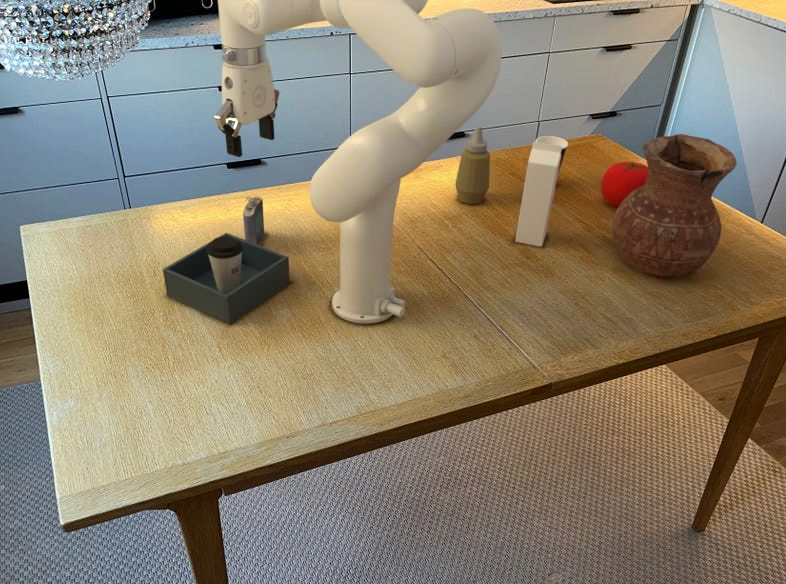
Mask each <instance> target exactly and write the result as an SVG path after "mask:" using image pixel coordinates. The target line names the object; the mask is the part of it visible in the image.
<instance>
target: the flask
mask: <svg viewBox="0 0 786 584" xmlns="http://www.w3.org/2000/svg"><path fill="white" fill-rule="evenodd" d="M247 201H248V202H247ZM245 202H247V203H246V205H245V207H244V208H243V212H242V216H243V217H242V218H243V219H242V220H243V230H244V240H246V241H249V242H252V243H254V244H257V245H259V246H261V242H263V239H264V237H265V236H266V234H265V220H264V201H263V197H261V196H254V197H252V196H251V197H250V196H247V197H246V198H245Z"/></svg>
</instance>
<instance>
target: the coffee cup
mask: <svg viewBox="0 0 786 584" xmlns="http://www.w3.org/2000/svg"><path fill="white" fill-rule="evenodd" d="M220 236H221V235H220ZM220 236H218V237H215V238H214V239H213V240H211V241H212V242H211V241H210V242H211V243H209V242H208V243H209V244H208V246H207V249H206V251H207V253H208V255H209V259H210V263H211V266H212V270H213V274H214V278H215V282H216V286H217V289H218V290H219V291H220V292H223V293H230V292H231V291H233V290H234V289H236V288H237V287H239V286H240V284H241V262H242V251H243V246H242V244H241V243H240V242H239V241H237V240H236V239H234V238H233V237H229V236H221V237H220Z"/></svg>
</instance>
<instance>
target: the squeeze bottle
mask: <svg viewBox="0 0 786 584" xmlns="http://www.w3.org/2000/svg"><path fill="white" fill-rule="evenodd" d="M483 137H484V136H483V128H482V126H480V125H477V126H476V127H475V130H474V133H473V136H472V138H470V139H469V140H467V142H466V147H465V149H463V150H462V151H461V157H460V160H459V164H458V170H457V174H456V179H455V182H454V183H455V184H454V185H455V189H456V193H457V197H458V200H459V201H460V202H462V203H464V204H469V205H477V204H480V203H482V202H483V200H484V199H485V196H486V194H487V192H488V191H489V188H490V169H491V167H490V166H491V153H490V152H489V151H488V149H487V148H488V142H487V141H486V140H484V138H483Z"/></svg>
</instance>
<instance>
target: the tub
mask: <svg viewBox="0 0 786 584" xmlns="http://www.w3.org/2000/svg"><path fill="white" fill-rule="evenodd" d="M221 236H229V237H233V238H234V239H236V240H237V241H239V242H240V243H241V244H242V246H243V251H242V262H241V284H240V286H239V287H237V288H236V289H234V290H233V291H231V292H230V293H223V292H220V291H219V290H218V289H217V286H216V282H215V278H214V274H213V270H212V266H211V263H210V259H209V255H208V253H207V251H206V249H207V246H208V244H209V243H211V242H212V240H211V241H209V242H207V243H206V244H204V245H202V246H201V247H199V248H197V249H195V250H193V251H192V252H190V253H188V254H187V255H184V256H183V257H181V258H179V259H178V260H176V261H174V262H173V263H170V264H169V265H168V266H167V265H166V267H164V268H162V274H163V280H164V285H165V291H166V296H167V297H168V298H171V299H173V300H174V301H177V302H180V303H182V304H184V305H185V306H188V307H190V308H193V309H195V310H197V311H200V312H202V313H204V314H205V315H208V316H210V317H212V318H215V319H217V320H218V321H221V322H223V323H226V324H228V325H231V324H233V323H234V322H236V321H237V320H239V319H240V318H241V317H243V316H244V315H246V314H247V313H249V312H250V311H252V310H253V309H254V308H256V307H257V306H258V305H260V304H261V303H263V302H264V301H266V300H267V299H269V298H270V297H272V296H274V295H275V294H276V293H278V292H279V291H280V290H282V289H283V288H285V287H286V286H287V285H289V284H290V282H291V280H290V278H291V277H290V262H289V261H290V259H289V256H287V255H285V254H282V253H280V252H277V251H274V250H272V249H270V248H267V247H265V246H262V245H260V246H259V245H257V244H254V243H252V242H249V241H246V240H245V238H241V237H238V236H236V235H233V234H231V233H228V232H225V233H223V234H221V235H219V237H221Z"/></svg>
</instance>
